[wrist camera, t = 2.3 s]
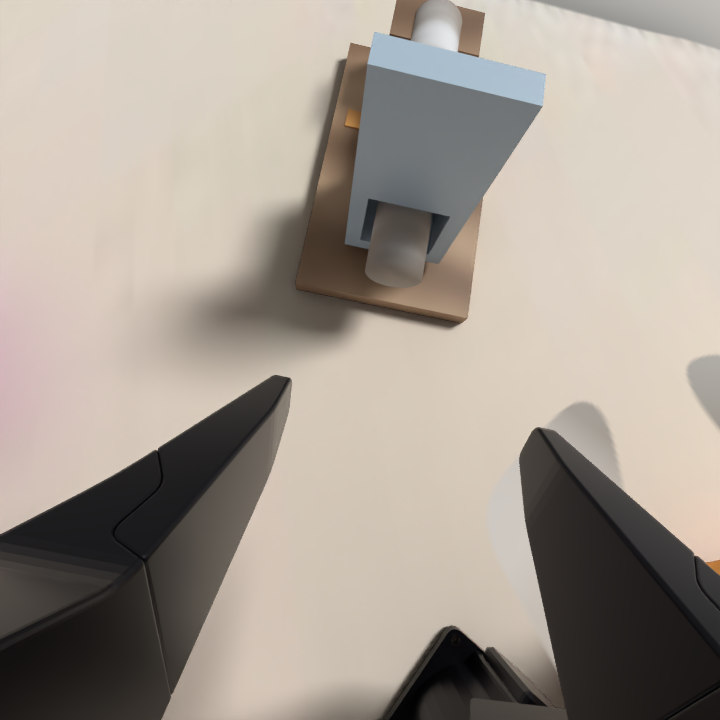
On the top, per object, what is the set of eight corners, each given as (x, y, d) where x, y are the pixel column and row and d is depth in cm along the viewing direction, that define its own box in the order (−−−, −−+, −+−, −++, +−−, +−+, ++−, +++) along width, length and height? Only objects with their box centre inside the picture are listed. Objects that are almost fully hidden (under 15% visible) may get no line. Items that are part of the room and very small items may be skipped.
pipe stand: (461, 323, 24) (507, 284, 18) (296, 289, 24) (288, 237, 18) (491, 91, 28) (537, -3, 22) (349, 56, 27) (357, -50, 22)
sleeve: (438, 264, 23) (542, 106, 12) (344, 244, 23) (367, 63, 12) (445, 217, 24) (550, 28, 13) (354, 197, 23) (384, -14, 13)
